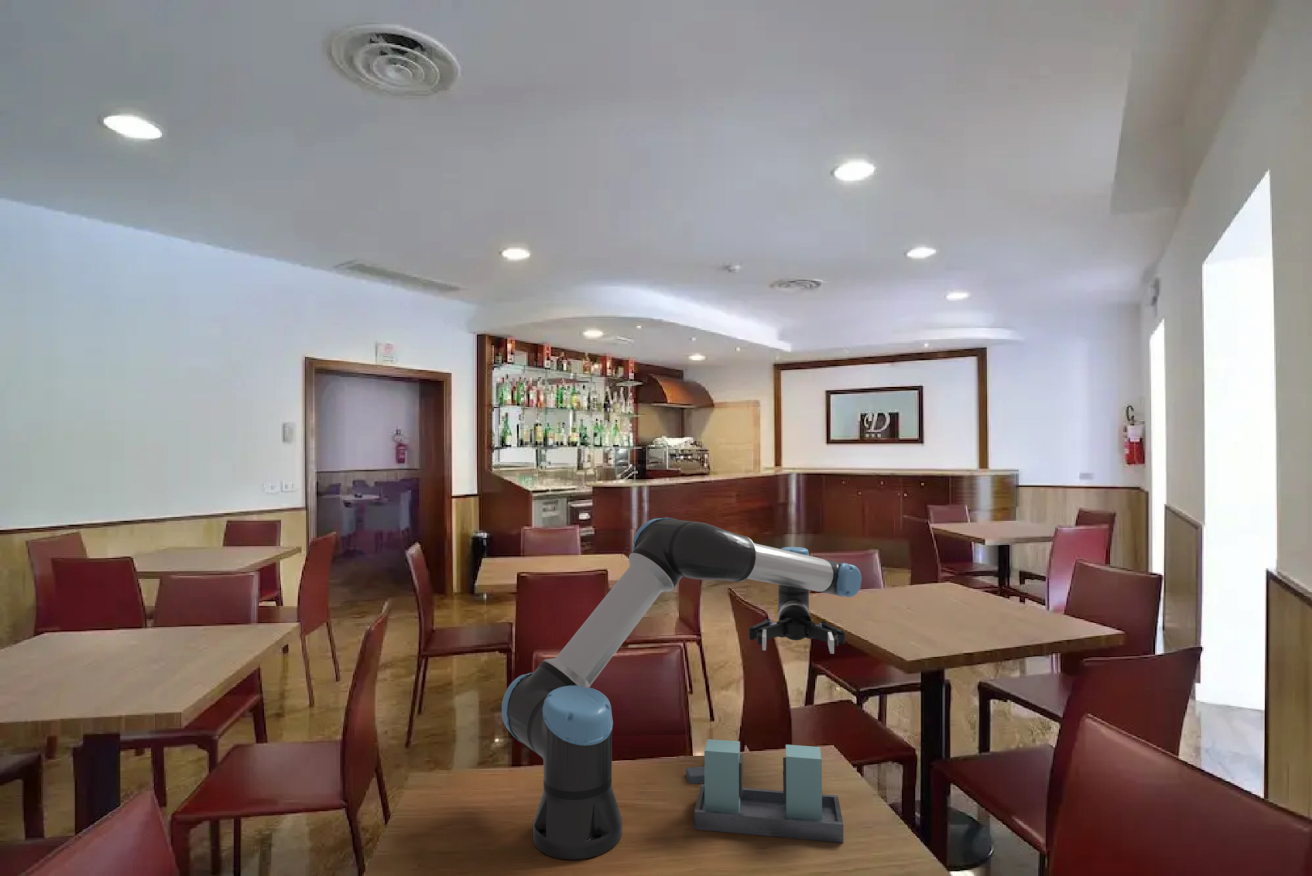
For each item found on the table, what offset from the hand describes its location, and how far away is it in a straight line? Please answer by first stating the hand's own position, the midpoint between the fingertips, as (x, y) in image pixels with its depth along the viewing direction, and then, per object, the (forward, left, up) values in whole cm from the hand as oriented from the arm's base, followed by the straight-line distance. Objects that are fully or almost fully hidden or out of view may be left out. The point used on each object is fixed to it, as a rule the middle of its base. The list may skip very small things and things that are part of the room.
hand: (797, 645), depth 139 cm
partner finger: (-14, -19, -24) cm, 34 cm away
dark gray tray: (-6, -19, -26) cm, 33 cm away
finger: (0, -19, -24) cm, 31 cm away
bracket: (-17, -4, -27) cm, 32 cm away
